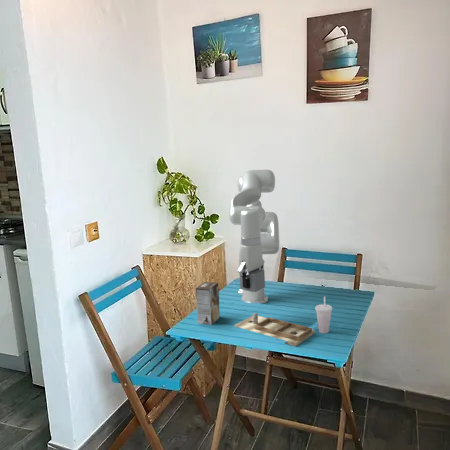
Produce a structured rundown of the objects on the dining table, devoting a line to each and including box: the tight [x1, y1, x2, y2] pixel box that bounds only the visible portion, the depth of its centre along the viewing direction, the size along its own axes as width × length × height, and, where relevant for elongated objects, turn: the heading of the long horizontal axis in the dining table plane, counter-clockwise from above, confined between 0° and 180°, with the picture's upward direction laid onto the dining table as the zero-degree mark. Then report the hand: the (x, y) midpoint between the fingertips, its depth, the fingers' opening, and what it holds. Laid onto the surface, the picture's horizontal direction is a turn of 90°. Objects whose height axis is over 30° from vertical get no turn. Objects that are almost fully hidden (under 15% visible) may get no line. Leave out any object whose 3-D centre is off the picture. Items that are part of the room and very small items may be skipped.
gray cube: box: [239, 269, 266, 292], centre depth 173 cm, size 7×7×7 cm
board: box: [233, 312, 316, 347], centre depth 169 cm, size 28×14×5 cm, turn 51°
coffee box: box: [195, 281, 221, 326], centre depth 179 cm, size 9×6×16 cm
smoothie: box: [314, 295, 333, 334], centre depth 166 cm, size 6×6×14 cm
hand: (252, 284), depth 173 cm, fingers closed on gray cube, 7 cm apart
